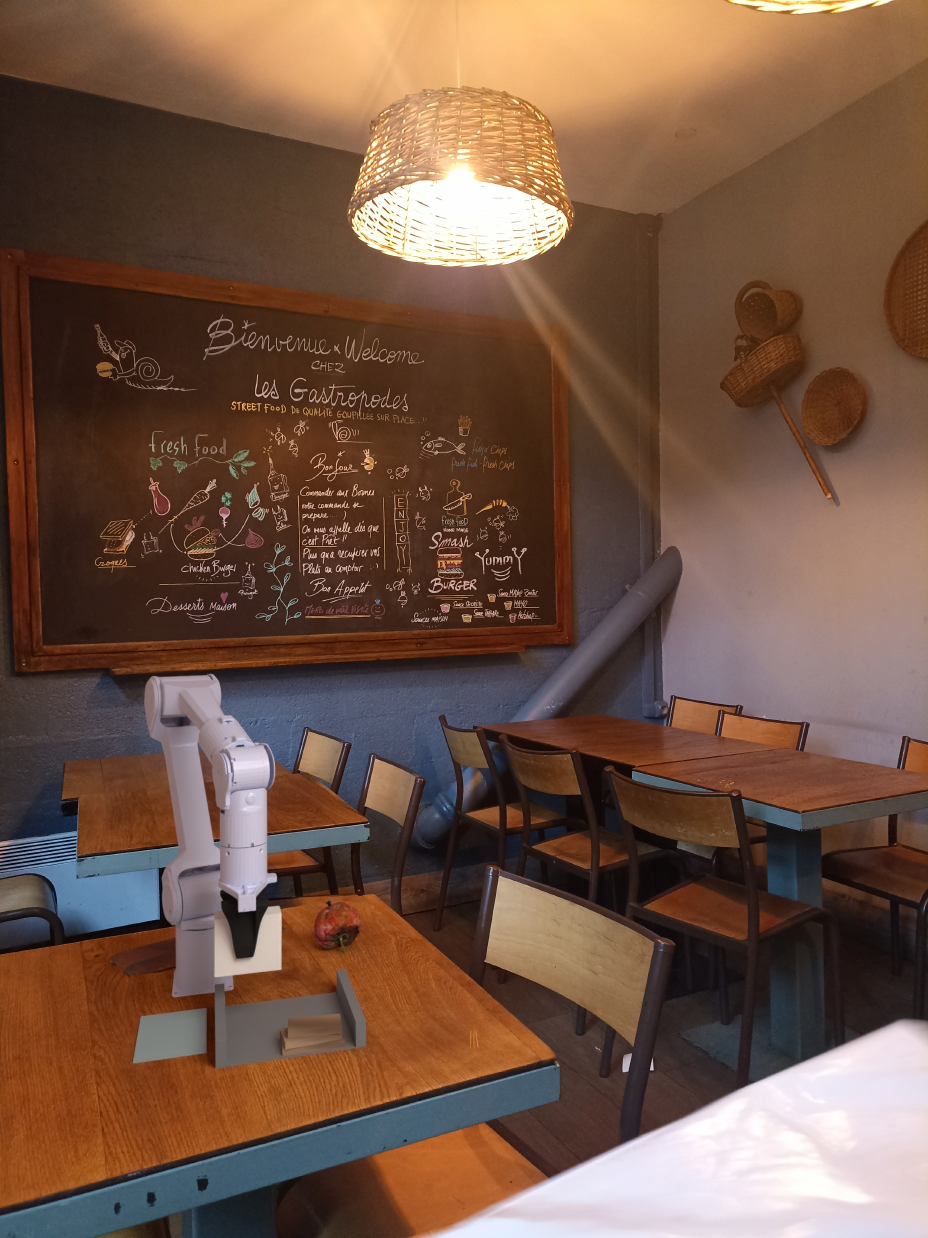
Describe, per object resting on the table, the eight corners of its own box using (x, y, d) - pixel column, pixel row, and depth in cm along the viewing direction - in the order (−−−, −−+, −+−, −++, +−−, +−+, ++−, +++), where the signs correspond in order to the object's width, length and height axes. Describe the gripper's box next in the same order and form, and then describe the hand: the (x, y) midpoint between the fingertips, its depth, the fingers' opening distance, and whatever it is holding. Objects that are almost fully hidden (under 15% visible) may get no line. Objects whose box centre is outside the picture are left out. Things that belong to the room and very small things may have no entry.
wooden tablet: (134, 984, 122) (134, 973, 122) (105, 965, 129) (105, 954, 129) (293, 935, 140) (293, 925, 140) (259, 920, 148) (259, 910, 148)
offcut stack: (279, 1040, 102) (279, 1020, 102) (340, 1031, 104) (339, 1011, 104) (282, 1057, 98) (282, 1036, 98) (345, 1048, 100) (345, 1027, 100)
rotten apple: (368, 964, 132) (355, 909, 140) (368, 937, 128) (355, 882, 135) (320, 975, 130) (310, 919, 138) (318, 948, 126) (308, 891, 133)
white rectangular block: (213, 968, 107) (214, 912, 107) (279, 960, 110) (279, 906, 110) (214, 977, 104) (214, 920, 104) (281, 969, 107) (281, 913, 107)
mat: (140, 1021, 109) (140, 1016, 109) (206, 1012, 111) (206, 1008, 111) (132, 1067, 97) (132, 1062, 97) (206, 1057, 99) (206, 1052, 99)
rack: (214, 1011, 111) (214, 984, 111) (345, 994, 116) (345, 968, 116) (215, 1073, 96) (215, 1041, 96) (366, 1050, 101) (365, 1020, 101)
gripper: (281, 854, 101) (282, 970, 101) (271, 827, 115) (271, 928, 115) (219, 859, 99) (220, 977, 99) (216, 831, 113) (217, 934, 113)
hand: (244, 951), depth 107 cm, fingers closed on white rectangular block, 3 cm apart
